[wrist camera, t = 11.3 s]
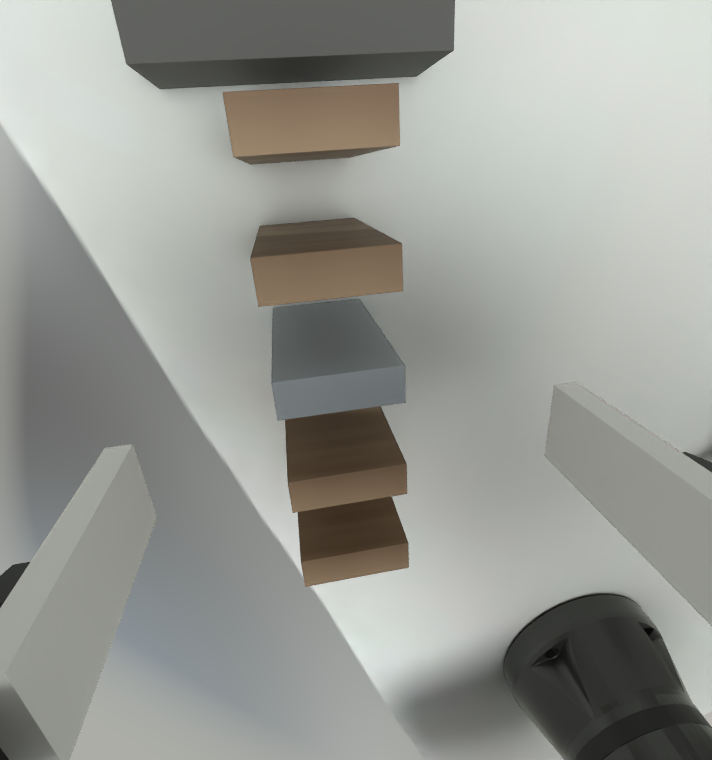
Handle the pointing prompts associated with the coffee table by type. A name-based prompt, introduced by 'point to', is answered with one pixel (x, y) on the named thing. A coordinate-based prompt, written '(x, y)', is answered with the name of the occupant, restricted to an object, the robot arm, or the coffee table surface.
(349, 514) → the domino
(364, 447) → the domino
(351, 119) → the domino
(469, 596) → the coffee table surface
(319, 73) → the block
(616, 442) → the robot arm
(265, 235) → the domino
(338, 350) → the domino
